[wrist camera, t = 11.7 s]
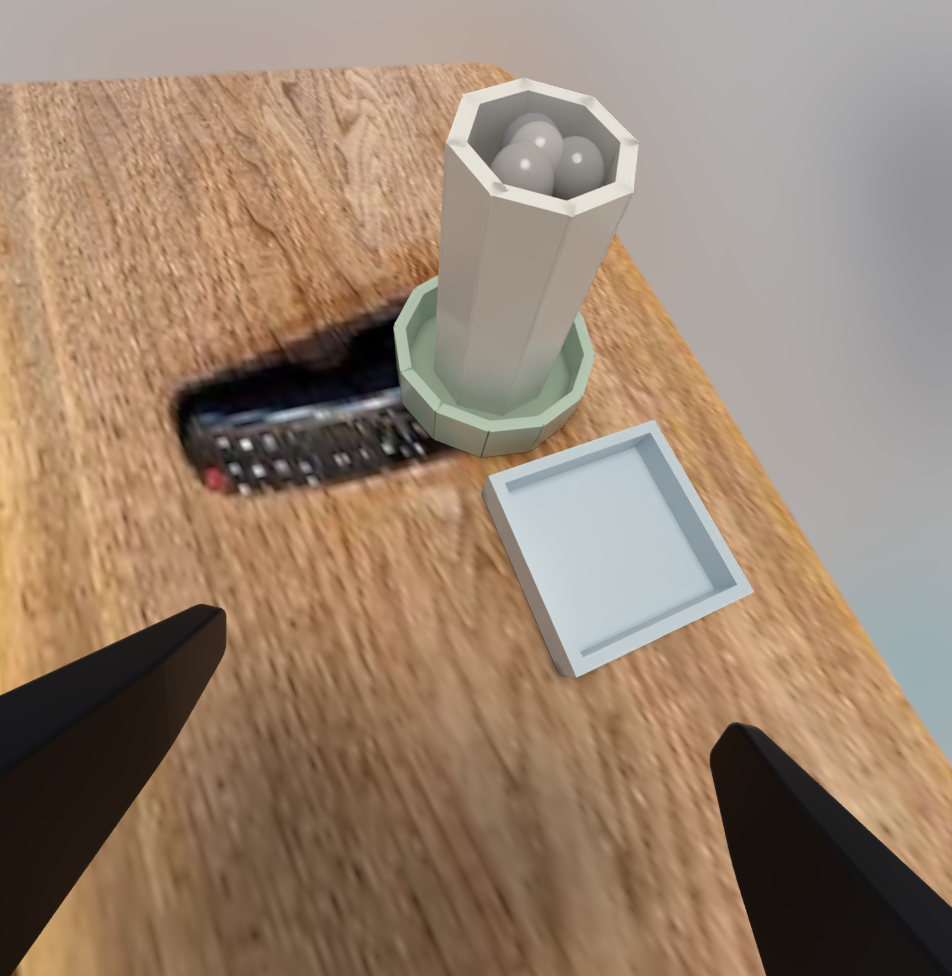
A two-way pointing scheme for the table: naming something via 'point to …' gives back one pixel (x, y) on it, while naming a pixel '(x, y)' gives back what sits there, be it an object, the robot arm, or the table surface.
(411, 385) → the bowl
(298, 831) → the table surface
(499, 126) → the pebble cup
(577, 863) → the table surface
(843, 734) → the table surface
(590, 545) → the parts tray
